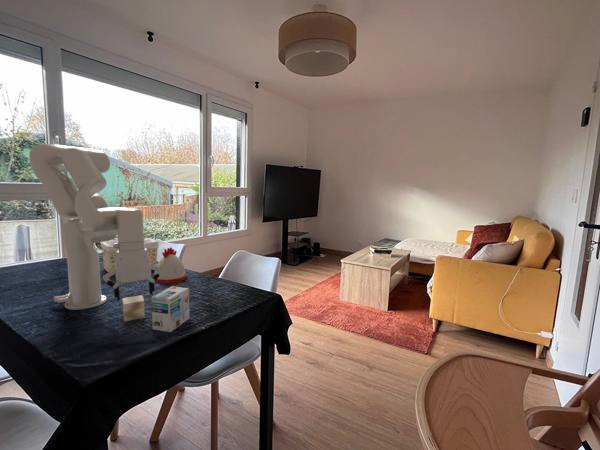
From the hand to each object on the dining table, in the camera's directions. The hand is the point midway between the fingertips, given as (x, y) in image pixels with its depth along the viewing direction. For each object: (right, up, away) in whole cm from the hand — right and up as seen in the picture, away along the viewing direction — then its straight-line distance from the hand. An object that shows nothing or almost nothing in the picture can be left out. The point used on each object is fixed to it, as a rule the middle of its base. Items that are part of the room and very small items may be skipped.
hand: (135, 296), depth 101 cm
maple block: (-1, -7, +1) cm, 7 cm away
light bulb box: (+14, -8, -3) cm, 16 cm away
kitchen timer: (-7, -2, +43) cm, 43 cm away
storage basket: (-33, +1, +57) cm, 66 cm away
